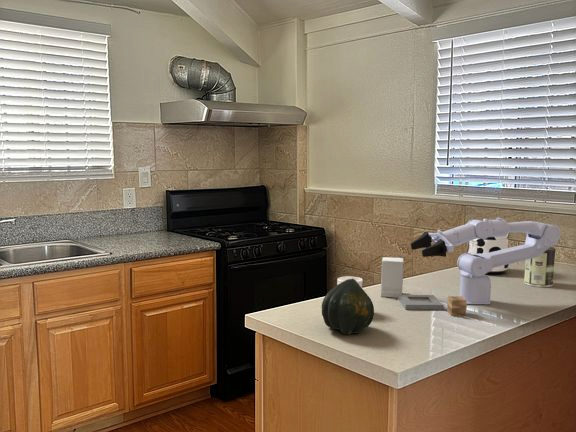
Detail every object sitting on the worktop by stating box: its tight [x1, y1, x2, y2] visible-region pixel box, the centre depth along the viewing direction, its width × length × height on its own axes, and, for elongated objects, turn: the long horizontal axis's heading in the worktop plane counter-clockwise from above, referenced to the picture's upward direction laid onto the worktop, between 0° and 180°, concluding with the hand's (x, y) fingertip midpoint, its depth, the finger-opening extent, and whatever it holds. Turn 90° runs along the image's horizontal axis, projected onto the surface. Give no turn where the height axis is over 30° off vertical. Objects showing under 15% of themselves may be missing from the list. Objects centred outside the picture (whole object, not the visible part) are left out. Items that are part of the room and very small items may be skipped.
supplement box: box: [380, 256, 405, 299], centre depth 199 cm, size 7×7×13 cm
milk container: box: [466, 232, 510, 274], centre depth 237 cm, size 17×17×18 cm
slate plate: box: [397, 294, 444, 311], centre depth 188 cm, size 12×12×2 cm
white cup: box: [336, 275, 364, 289], centre depth 180 cm, size 8×8×10 cm
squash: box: [321, 278, 375, 336], centre depth 161 cm, size 14×15×15 cm
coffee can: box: [523, 246, 557, 288], centre depth 216 cm, size 10×10×14 cm
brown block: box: [446, 295, 468, 317], centre depth 178 cm, size 4×4×5 cm
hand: (416, 250), depth 185 cm, fingers open, 7 cm apart
